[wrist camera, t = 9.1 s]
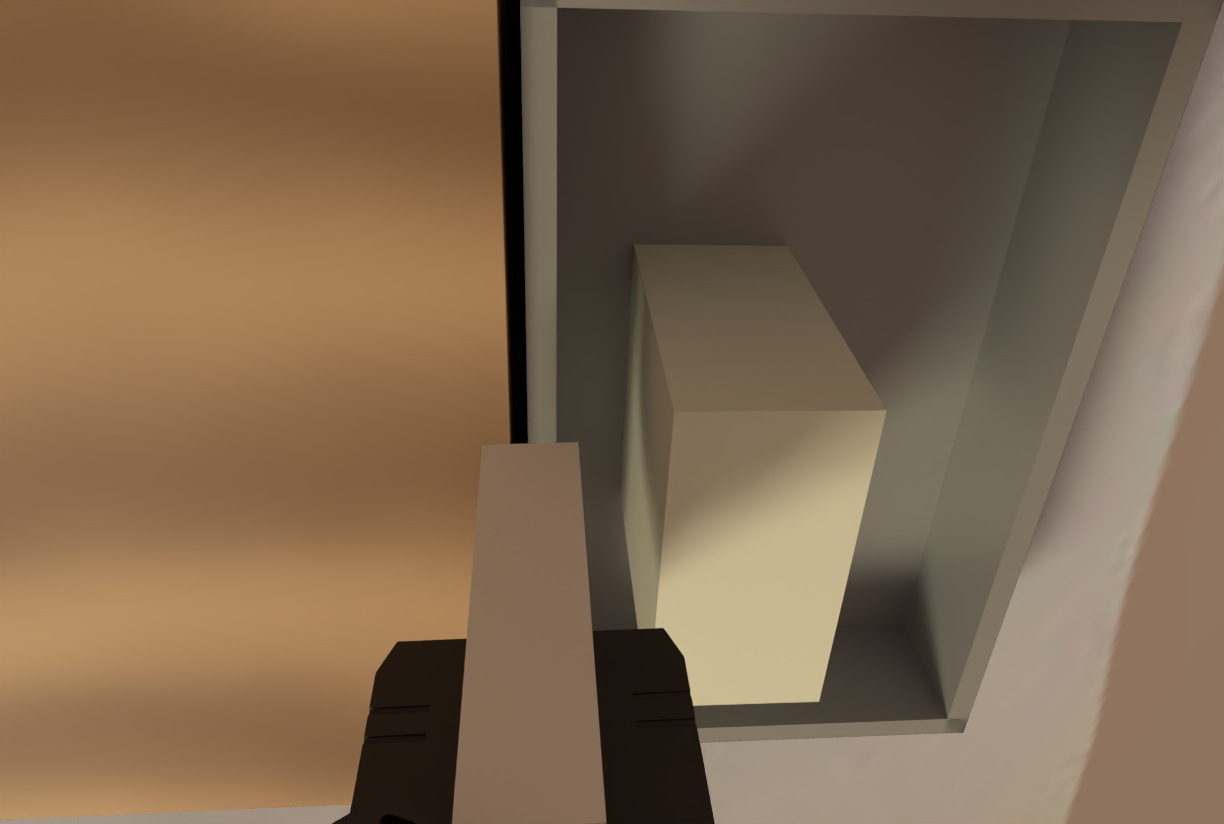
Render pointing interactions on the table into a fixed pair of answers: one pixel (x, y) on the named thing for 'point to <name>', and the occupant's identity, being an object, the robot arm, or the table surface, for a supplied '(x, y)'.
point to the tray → (859, 270)
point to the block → (742, 467)
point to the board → (238, 382)
